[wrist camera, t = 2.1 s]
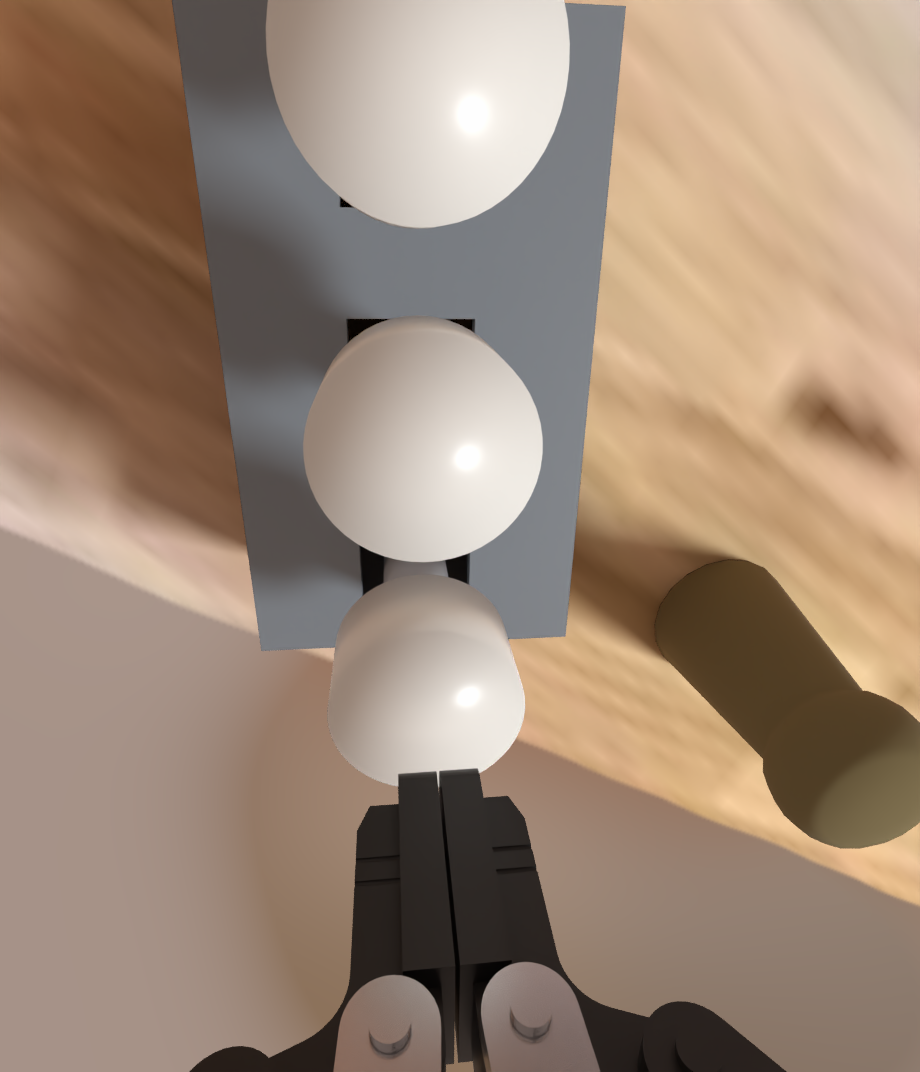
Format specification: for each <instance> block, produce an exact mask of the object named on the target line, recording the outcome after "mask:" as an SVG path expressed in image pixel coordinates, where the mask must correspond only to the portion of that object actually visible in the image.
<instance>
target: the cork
mask: <svg viewBox="0 0 920 1072" xmlns="http://www.w3.org/2000/svg"><path fill="white" fill-rule="evenodd" d="M655 636H656V642H657V644H658V646H659V648H660V650H661V652H662V654H663V656H664V657H665V658H666V659H667V660H668V661H669V662H670V663H671V664H672V665H673V666H674V667H675V668H676V669H677V670H678V671H679V672H680V673H681V675H682V676H683V677H684V678H685V679H686V680H687V681H688V682H689V683H690V684H691V685H692V686H693V687H694V688H695V689H696V690H697V691H698V692H699V693H700V694H701V695H702V696H703V697H704V698H705V699H706V700H707V701H708V702H709V703H710V704H711V706H712V707H713V708H714V709H715V710H716V711H717V712H718V713H719V714H720V715H721V716H722V717H723V718H724V719H725V720H726V721H727V722H728V723H729V724H730V725H731V726H732V727H733V728H734V729H735V730H736V731H737V732H738V733H739V734H740V735H741V736H742V738H743V739H744V740H745V741H746V742H747V743H748V744H749V745H750V746H751V747H752V748H753V749H754V750H755V751H756V752H757V753H758V754H759V755H760V756H761V757H762V758H763V773H764V776H765V779H766V782H767V785H768V787H769V790H770V792H771V794H772V796H773V798H774V800H775V802H776V804H777V805H778V807H779V808H780V810H781V811H782V813H783V814H784V816H786V817H787V818H788V819H789V820H790V821H791V822H792V823H793V824H795V825H796V826H797V827H798V828H799V829H800V830H802V831H803V832H804V833H806V834H807V835H808V836H809V837H811V838H813V839H816V840H818V841H820V842H822V843H824V844H827V845H831V846H834V847H838V848H864V847H869V846H873V845H878V844H882V843H885V842H888V841H890V840H892V839H894V838H897V837H899V836H901V835H903V834H904V833H906V832H907V831H909V830H910V829H912V828H913V827H915V826H916V825H917V824H918V823H919V822H920V723H919V722H918V721H917V719H915V718H914V717H913V716H912V715H911V714H910V713H909V712H908V711H906V710H905V709H904V708H903V707H902V706H900V705H898V704H896V703H894V702H892V701H890V700H889V699H887V698H884V697H882V696H879V695H877V694H874V693H871V692H869V691H862V689H861V688H860V687H859V685H858V684H857V683H856V682H855V680H854V679H853V678H852V676H851V675H850V674H849V673H848V671H847V670H846V669H845V667H844V666H843V665H842V664H841V662H840V661H839V660H838V658H837V657H836V656H835V655H834V653H833V652H832V651H831V650H830V648H829V647H828V646H827V644H826V643H825V642H824V641H823V639H822V638H821V637H820V635H819V634H818V633H817V632H816V630H815V629H814V628H813V626H812V625H811V624H810V623H809V621H808V620H807V619H806V617H805V616H804V615H803V614H802V612H801V611H800V610H799V608H798V607H797V606H796V605H795V603H794V602H793V601H792V600H791V598H790V597H789V596H788V594H787V593H786V592H785V591H784V589H783V588H782V587H781V585H780V584H779V583H778V582H777V580H776V579H775V578H774V577H773V576H772V575H771V574H770V573H769V572H768V571H767V570H766V569H765V568H763V567H760V566H758V565H756V564H753V563H751V562H749V561H738V560H725V561H720V562H716V563H711V564H707V565H705V566H703V567H701V568H699V569H697V570H695V571H693V572H691V573H690V574H688V575H686V576H685V577H684V578H683V579H682V580H681V581H680V582H678V583H677V584H676V585H675V586H674V587H673V588H672V589H671V590H670V591H669V593H668V594H667V596H666V598H665V599H664V601H663V602H662V604H661V605H660V607H659V611H658V614H657V618H656V621H655Z"/></svg>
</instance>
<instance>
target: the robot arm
mask: <svg viewBox="0 0 920 1072" xmlns="http://www.w3.org/2000/svg"><path fill="white" fill-rule="evenodd" d="M398 789H399V790H398V791H399V792H398V794H399V804H394V805H380V806H370V807H369V809H368V811H367V813H366V815H365V817H364V819H363V821H362V823H361V825H360V827H359V828H358V830H357V846H356V867H355V868H356V869H355V888H354V909H353V929H352V949H351V970H350V980H349V986H348V990H347V993H346V995H345V998H344V1001H343V1003H342V1004H341V1006H340V1008H339V1009H338V1011H337V1013H336V1014H335V1015H334V1017H333V1018H332V1019H331V1020H330V1022H328V1023H327V1025H325V1026H324V1028H323V1029H321V1030H320V1031H319V1032H317V1033H316V1034H315V1035H313V1036H312V1037H310V1038H308V1039H307V1040H305V1041H303V1042H301V1043H299V1044H297V1045H295V1046H293V1047H291V1048H289V1049H286V1050H284V1051H282V1052H280V1053H278V1054H276V1055H274V1056H272V1057H270V1058H268V1057H267V1056H266V1055H265V1054H263V1053H262V1052H260V1051H259V1050H256V1049H254V1048H251V1047H244V1046H237V1047H230V1048H225V1049H222V1050H220V1051H217V1052H215V1053H213V1054H211V1055H210V1056H208V1057H206V1058H205V1059H203V1060H202V1061H201V1062H199V1063H198V1064H197V1065H196V1066H195V1067H194V1068H193V1069H192V1070H191V1071H190V1072H446V1064H454V1022H455V1031H456V1042H457V1053H458V1063H459V1062H469V1061H473V1066H474V1072H786V1071H785V1070H784V1069H782V1068H781V1067H780V1066H779V1065H778V1064H776V1063H775V1062H774V1061H773V1060H772V1059H770V1058H769V1057H768V1056H767V1055H766V1054H764V1053H763V1052H762V1051H760V1050H759V1049H758V1048H757V1047H756V1046H755V1045H753V1044H752V1043H751V1042H750V1041H749V1040H747V1039H746V1038H745V1037H743V1036H742V1035H741V1034H740V1033H739V1032H737V1031H736V1030H735V1029H734V1028H733V1027H732V1026H730V1025H729V1024H728V1023H727V1022H726V1021H724V1020H723V1019H722V1018H720V1017H719V1016H718V1015H716V1014H715V1013H714V1012H712V1011H710V1010H709V1009H706V1008H705V1007H703V1006H700V1005H697V1004H695V1003H690V1002H671V1003H668V1004H665V1005H663V1006H661V1007H659V1008H658V1009H657V1010H655V1011H654V1012H653V1014H652V1015H651V1016H650V1017H645V1016H641V1015H637V1014H633V1013H630V1012H625V1011H622V1010H618V1009H614V1008H611V1007H608V1006H605V1005H602V1004H600V1003H598V1002H596V1001H594V1000H592V999H591V998H589V997H588V996H586V995H584V994H583V993H582V992H581V991H580V990H579V989H578V988H577V987H576V986H575V985H574V984H573V983H572V981H571V980H570V979H569V978H568V976H567V975H566V973H565V972H564V970H563V968H562V966H561V964H560V961H559V958H558V955H557V951H556V947H555V943H554V939H553V934H552V930H551V926H550V922H549V918H548V914H547V910H546V905H545V901H544V897H543V893H542V889H541V885H540V881H539V876H538V872H537V871H536V864H535V860H534V855H533V851H532V849H531V843H530V839H529V835H528V831H527V826H526V822H525V818H524V817H523V815H522V814H521V813H520V811H519V810H518V809H517V807H516V806H515V805H514V803H513V802H512V801H511V799H510V798H509V797H508V796H501V797H488V798H483V793H482V787H481V781H480V775H479V771H478V769H477V768H473V769H458V770H443V771H439V791H438V780H437V772H436V771H432V772H417V773H402V774H398Z"/></svg>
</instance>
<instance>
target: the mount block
mask: <svg viewBox="0 0 920 1072" xmlns="http://www.w3.org/2000/svg"><path fill="white" fill-rule="evenodd" d="M267 3H268V0H172V5H173V12H174V19H175V26H176V34H177V41H178V48H179V55H180V63H181V70H182V77H183V85H184V92H185V99H186V106H187V114H188V121H189V128H190V135H191V143H192V150H193V157H194V165H195V172H196V179H197V186H198V194H199V201H200V208H201V215H202V223H203V230H204V237H205V245H206V252H207V259H208V266H209V274H210V281H211V288H212V295H213V303H214V310H215V317H216V325H217V332H218V339H219V346H220V354H221V361H222V368H223V375H224V383H225V390H226V397H227V405H228V412H229V419H230V426H231V434H232V441H233V448H234V455H235V463H236V470H237V477H238V485H239V492H240V499H241V506H242V514H243V521H244V528H245V535H246V543H247V550H248V557H249V565H250V572H251V579H252V586H253V594H254V601H255V608H256V615H257V623H258V630H259V637H260V644H261V651H270V650H291V649H312V648H333V647H335V645H336V639H337V634H338V631H339V628H340V625H341V623H342V621H343V619H344V617H345V615H346V614H347V612H348V611H349V610H350V608H351V607H352V606H353V605H354V604H355V603H356V602H357V600H359V599H360V598H361V597H362V596H363V595H365V594H366V593H367V592H369V591H370V590H372V589H373V588H375V587H377V586H379V585H381V584H383V583H384V556H382V555H379V554H377V553H374V552H372V551H369V550H367V549H366V548H364V547H362V546H360V545H358V544H357V543H355V542H354V541H352V540H351V539H350V538H348V537H347V536H345V535H344V534H343V533H342V532H341V531H340V530H339V529H338V528H337V527H336V526H335V525H334V524H333V523H332V522H331V521H330V520H329V518H328V517H327V516H326V515H325V513H324V512H323V510H322V509H321V507H320V506H319V504H318V502H317V501H316V499H315V496H314V494H313V492H312V490H311V488H310V484H309V481H308V478H307V475H306V470H305V464H304V455H303V440H304V432H305V425H306V422H307V418H308V414H309V411H310V408H311V406H312V404H313V401H314V399H315V396H316V394H317V392H318V390H319V388H320V385H321V383H322V381H323V379H324V376H325V374H326V372H327V370H328V368H329V366H330V365H331V363H332V361H333V360H334V358H335V357H336V356H337V354H338V353H339V352H340V351H341V349H342V348H343V347H344V346H345V345H346V344H347V343H348V342H349V338H348V320H347V319H393V318H398V317H403V316H416V315H420V316H432V317H437V318H442V319H472V332H474V333H475V334H476V335H478V336H479V337H481V338H482V339H483V340H484V341H485V342H486V343H487V344H488V345H490V346H491V347H492V348H493V349H494V350H495V352H496V353H497V354H498V355H499V356H500V357H501V358H502V359H503V360H504V361H505V362H506V363H507V364H508V365H509V366H510V367H511V368H512V369H513V370H514V372H515V373H516V374H517V375H518V377H519V378H520V379H521V380H522V382H523V383H524V385H525V386H526V388H527V390H528V391H529V393H530V395H531V397H532V399H533V402H534V404H535V406H536V409H537V412H538V416H539V419H540V423H541V430H542V437H543V454H542V462H541V469H540V472H539V476H538V480H537V483H536V485H535V488H534V490H533V492H532V495H531V497H530V499H529V500H528V502H527V504H526V506H525V507H524V509H523V510H522V511H521V513H520V514H519V515H518V517H517V518H516V519H515V521H514V522H513V523H512V524H511V525H510V526H509V527H508V528H507V529H506V530H505V531H504V532H502V533H501V534H500V535H499V536H497V537H496V538H495V539H494V540H492V541H490V542H489V543H487V544H486V545H484V546H482V547H481V548H479V549H476V550H474V551H472V552H470V553H468V554H465V555H462V556H459V557H456V558H452V559H447V560H445V562H446V567H447V573H448V577H449V578H453V579H456V580H459V581H461V582H464V583H466V584H468V585H470V586H472V587H473V588H475V589H477V590H478V591H479V592H481V593H482V594H483V595H484V596H485V597H486V598H487V599H488V600H489V601H490V602H491V603H492V604H493V605H494V607H495V608H496V609H497V611H498V613H499V615H500V617H501V619H502V622H503V624H504V627H505V630H506V634H507V637H508V639H522V638H543V637H564V636H565V635H566V625H567V615H568V604H569V594H570V583H571V573H572V562H573V552H574V541H575V531H576V521H577V510H578V500H579V489H580V479H581V468H582V458H583V448H584V437H585V427H586V416H587V406H588V395H589V385H590V374H591V364H592V354H593V343H594V333H595V322H596V312H597V301H598V291H599V281H600V270H601V260H602V249H603V239H604V228H605V218H606V207H607V197H608V187H609V176H610V166H611V155H612V145H613V134H614V124H615V114H616V103H617V93H618V82H619V72H620V61H621V51H622V40H623V30H624V20H625V9H626V6H612V5H593V4H573V3H565V8H566V13H567V18H568V28H569V40H570V55H569V72H568V81H567V89H566V93H565V97H564V102H563V106H562V110H561V113H560V116H559V119H558V122H557V125H556V127H555V130H554V133H553V135H552V137H551V139H550V141H549V143H548V145H547V147H546V149H545V151H544V153H543V154H542V156H541V157H540V159H539V161H538V162H537V164H536V165H535V167H534V168H533V170H532V171H531V172H530V173H529V174H528V176H527V177H526V178H525V179H524V181H523V182H522V183H521V184H520V185H519V186H518V187H517V188H516V189H515V190H514V191H513V192H511V193H510V194H509V195H508V196H507V197H506V198H505V199H503V200H502V201H500V202H499V203H498V204H496V205H495V206H493V207H492V208H490V209H488V210H486V211H485V212H483V213H481V214H479V215H477V216H475V217H472V218H469V219H467V220H464V221H461V222H458V223H453V224H449V225H444V226H439V227H434V228H424V229H412V228H401V227H397V226H393V225H388V224H385V223H383V222H380V221H377V220H375V219H372V218H370V217H369V216H367V215H365V214H363V213H361V212H360V211H358V210H357V209H355V208H353V207H341V197H340V196H339V195H338V194H337V193H336V192H335V191H333V190H332V189H331V188H330V187H329V186H328V185H327V184H326V183H325V182H324V181H323V180H322V179H321V178H320V177H319V176H318V175H317V173H316V172H315V171H314V170H313V169H312V167H311V166H310V165H309V164H308V163H307V161H306V160H305V158H304V157H303V155H302V154H301V152H300V150H299V149H298V147H297V146H296V144H295V143H294V141H293V139H292V137H291V135H290V133H289V131H288V129H287V127H286V125H285V123H284V120H283V118H282V115H281V112H280V110H279V107H278V104H277V102H276V98H275V94H274V90H273V87H272V83H271V79H270V73H269V66H268V59H267V51H266V17H267Z"/></svg>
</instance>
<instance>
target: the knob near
mask: <svg viewBox="0 0 920 1072" xmlns="http://www.w3.org/2000/svg"><path fill="white" fill-rule="evenodd" d="M266 51H267V59H268V66H269V73H270V79H271V83H272V87H273V90H274V94H275V98H276V102H277V104H278V107H279V110H280V112H281V115H282V118H283V120H284V123H285V125H286V127H287V129H288V131H289V133H290V135H291V137H292V139H293V141H294V143H295V144H296V146H297V147H298V149H299V150H300V152H301V154H302V155H303V157H304V158H305V160H306V161H307V163H308V164H309V165H310V166H311V167H312V169H313V170H314V171H315V172H316V173H317V175H318V176H319V177H320V178H321V179H322V180H323V181H324V182H325V183H326V184H327V185H328V186H329V187H330V188H331V189H332V190H333V191H335V192H336V193H337V194H338V195H339V196H340V197H341V198H342V199H343V200H344V201H346V202H347V203H348V204H350V205H351V206H352V207H354V208H355V209H357V210H358V211H360V212H361V213H363V214H365V215H367V216H369V217H370V218H372V219H375V220H377V221H380V222H383V223H385V224H388V225H393V226H397V227H401V228H412V229H424V228H434V227H439V226H444V225H449V224H453V223H458V222H461V221H464V220H467V219H469V218H472V217H475V216H477V215H479V214H481V213H483V212H485V211H486V210H488V209H490V208H492V207H493V206H495V205H496V204H498V203H499V202H500V201H502V200H503V199H505V198H506V197H507V196H508V195H509V194H510V193H511V192H513V191H514V190H515V189H516V188H517V187H518V186H519V185H520V184H521V183H522V182H523V181H524V179H525V178H526V177H527V176H528V174H529V173H530V172H531V171H532V170H533V168H534V167H535V165H536V164H537V162H538V161H539V159H540V157H541V156H542V154H543V153H544V151H545V149H546V147H547V145H548V143H549V141H550V139H551V137H552V135H553V133H554V130H555V127H556V125H557V122H558V119H559V116H560V113H561V110H562V106H563V102H564V97H565V93H566V89H567V81H568V72H569V55H570V40H569V28H568V18H567V13H566V8H565V2H564V0H268V3H267V17H266Z"/></svg>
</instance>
